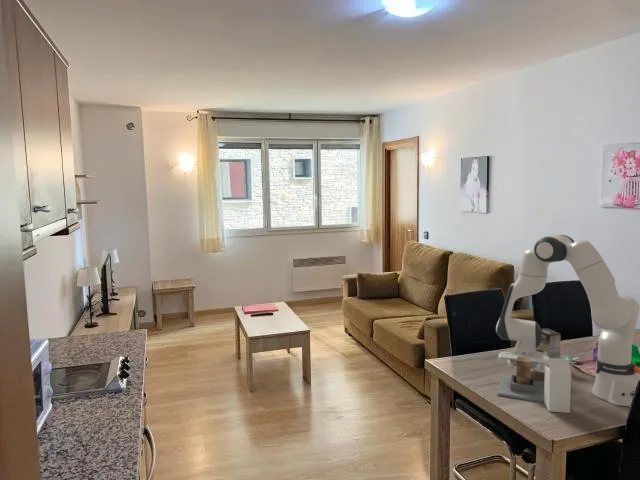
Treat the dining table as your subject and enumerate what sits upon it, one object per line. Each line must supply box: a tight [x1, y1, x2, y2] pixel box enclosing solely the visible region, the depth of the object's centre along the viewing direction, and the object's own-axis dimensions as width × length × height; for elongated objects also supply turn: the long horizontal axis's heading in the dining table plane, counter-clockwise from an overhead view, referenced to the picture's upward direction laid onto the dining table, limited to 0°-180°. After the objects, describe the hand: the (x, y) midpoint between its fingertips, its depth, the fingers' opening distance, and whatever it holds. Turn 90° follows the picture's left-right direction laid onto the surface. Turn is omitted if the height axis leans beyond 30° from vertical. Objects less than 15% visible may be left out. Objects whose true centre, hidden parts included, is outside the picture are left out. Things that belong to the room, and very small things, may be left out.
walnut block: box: [515, 356, 531, 385], centre depth 189 cm, size 5×5×12 cm
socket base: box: [497, 374, 545, 403], centre depth 190 cm, size 18×18×4 cm
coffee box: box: [536, 327, 562, 359], centre depth 215 cm, size 9×6×16 cm
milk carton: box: [544, 358, 572, 414], centre depth 173 cm, size 7×7×19 cm
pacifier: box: [561, 347, 580, 365], centre depth 219 cm, size 7×6×6 cm
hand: (523, 367), depth 189 cm, fingers open, 8 cm apart
